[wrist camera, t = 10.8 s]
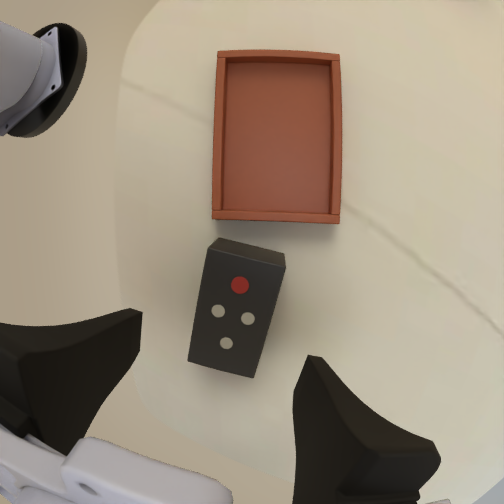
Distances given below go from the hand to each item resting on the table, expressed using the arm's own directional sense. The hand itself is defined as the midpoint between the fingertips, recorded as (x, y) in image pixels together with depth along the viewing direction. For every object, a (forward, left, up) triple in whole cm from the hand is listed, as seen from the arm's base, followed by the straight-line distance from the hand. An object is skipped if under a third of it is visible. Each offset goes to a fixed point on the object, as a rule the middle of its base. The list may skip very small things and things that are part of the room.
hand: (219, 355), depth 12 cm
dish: (+5, +9, -7) cm, 12 cm away
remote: (0, 0, -7) cm, 7 cm away
